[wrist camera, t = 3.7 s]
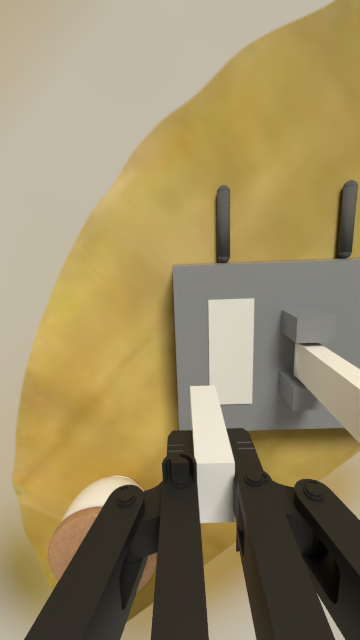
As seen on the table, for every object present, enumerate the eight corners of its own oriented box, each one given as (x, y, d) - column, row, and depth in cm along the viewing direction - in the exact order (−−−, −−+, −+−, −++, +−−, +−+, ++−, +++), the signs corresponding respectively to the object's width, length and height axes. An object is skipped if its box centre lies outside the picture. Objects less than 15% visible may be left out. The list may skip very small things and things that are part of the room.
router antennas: (353, 181, 28) (361, 178, 27) (346, 258, 29) (353, 258, 28) (216, 187, 28) (217, 184, 27) (216, 262, 30) (218, 263, 28)
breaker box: (390, 256, 29) (472, 257, 21) (372, 400, 33) (437, 449, 25) (173, 264, 30) (171, 268, 21) (179, 406, 33) (179, 457, 25)
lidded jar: (178, 508, 36) (176, 593, 27) (107, 543, 38) (83, 636, 28) (130, 443, 34) (112, 512, 25) (58, 483, 36) (15, 563, 26)
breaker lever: (315, 335, 25) (440, 410, 13) (312, 374, 26) (428, 478, 14) (289, 335, 25) (391, 411, 13) (287, 374, 26) (381, 480, 14)
